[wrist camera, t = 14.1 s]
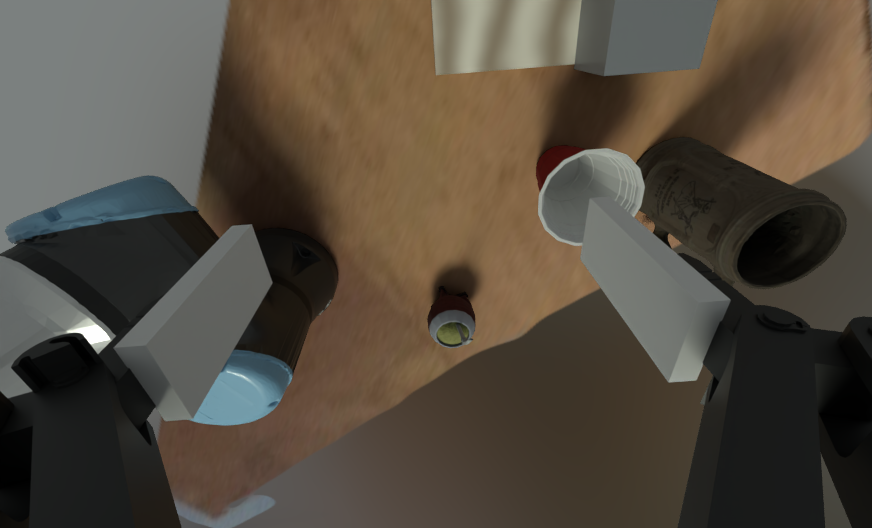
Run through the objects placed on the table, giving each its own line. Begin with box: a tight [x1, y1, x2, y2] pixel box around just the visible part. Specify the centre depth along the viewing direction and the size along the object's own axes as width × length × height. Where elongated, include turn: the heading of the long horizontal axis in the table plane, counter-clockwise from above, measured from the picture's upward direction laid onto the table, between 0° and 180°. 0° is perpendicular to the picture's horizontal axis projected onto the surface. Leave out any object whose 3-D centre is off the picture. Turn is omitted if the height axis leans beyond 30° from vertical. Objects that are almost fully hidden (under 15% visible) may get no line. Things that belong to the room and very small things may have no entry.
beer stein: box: [636, 137, 847, 289], centre depth 44 cm, size 15×11×20 cm
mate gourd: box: [427, 286, 475, 348], centre depth 53 cm, size 8×8×15 cm
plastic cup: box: [536, 145, 645, 246], centre depth 44 cm, size 11×11×12 cm
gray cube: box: [574, 0, 717, 76], centre depth 36 cm, size 9×9×8 cm
